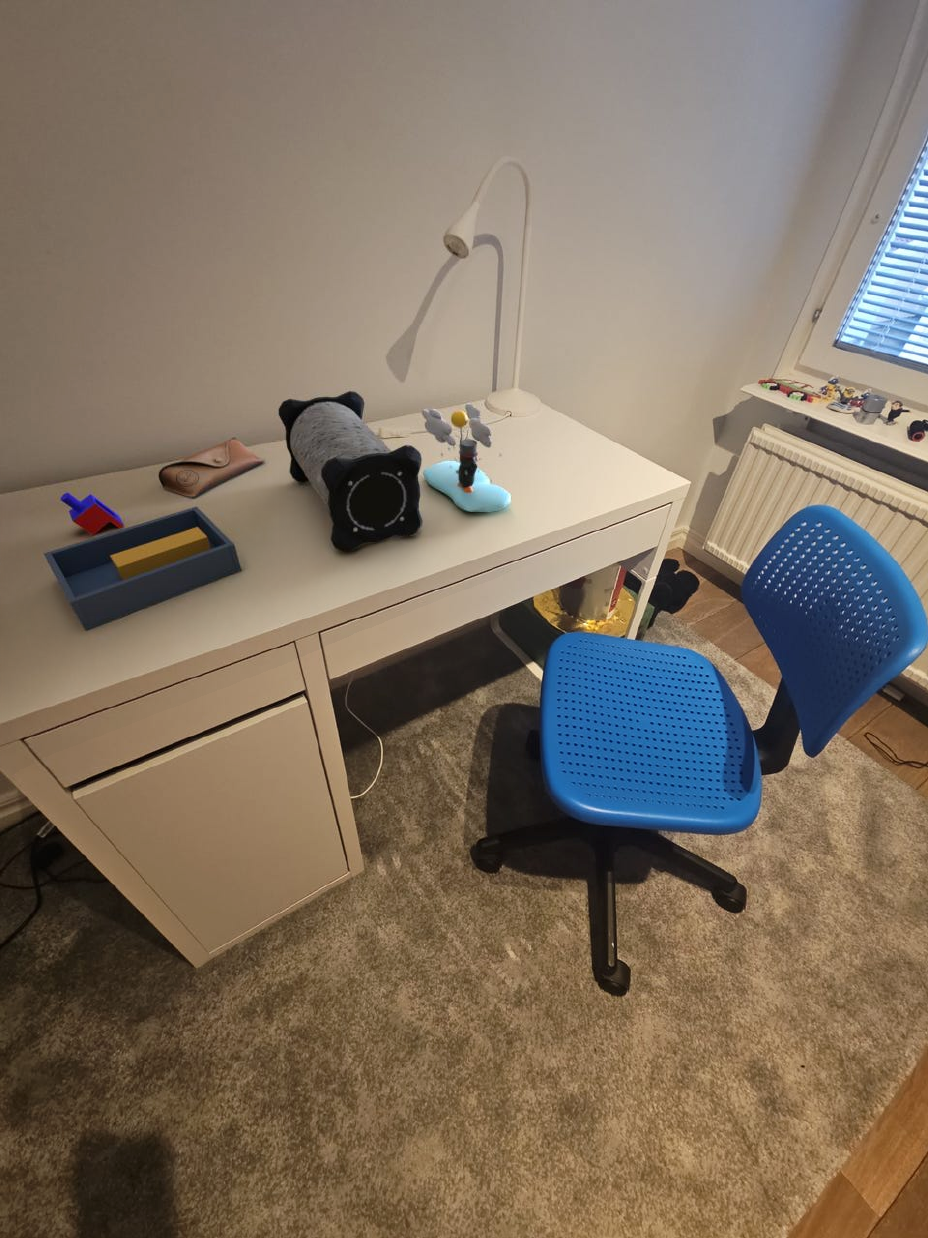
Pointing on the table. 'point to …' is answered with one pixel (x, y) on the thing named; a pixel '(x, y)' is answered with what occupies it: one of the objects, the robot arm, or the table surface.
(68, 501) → the toy building block
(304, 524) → the table surface
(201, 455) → the sunglasses case
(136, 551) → the wooden stick
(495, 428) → the table surface
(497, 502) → the penguin figurine
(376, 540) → the speaker
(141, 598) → the bin
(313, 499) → the table surface
